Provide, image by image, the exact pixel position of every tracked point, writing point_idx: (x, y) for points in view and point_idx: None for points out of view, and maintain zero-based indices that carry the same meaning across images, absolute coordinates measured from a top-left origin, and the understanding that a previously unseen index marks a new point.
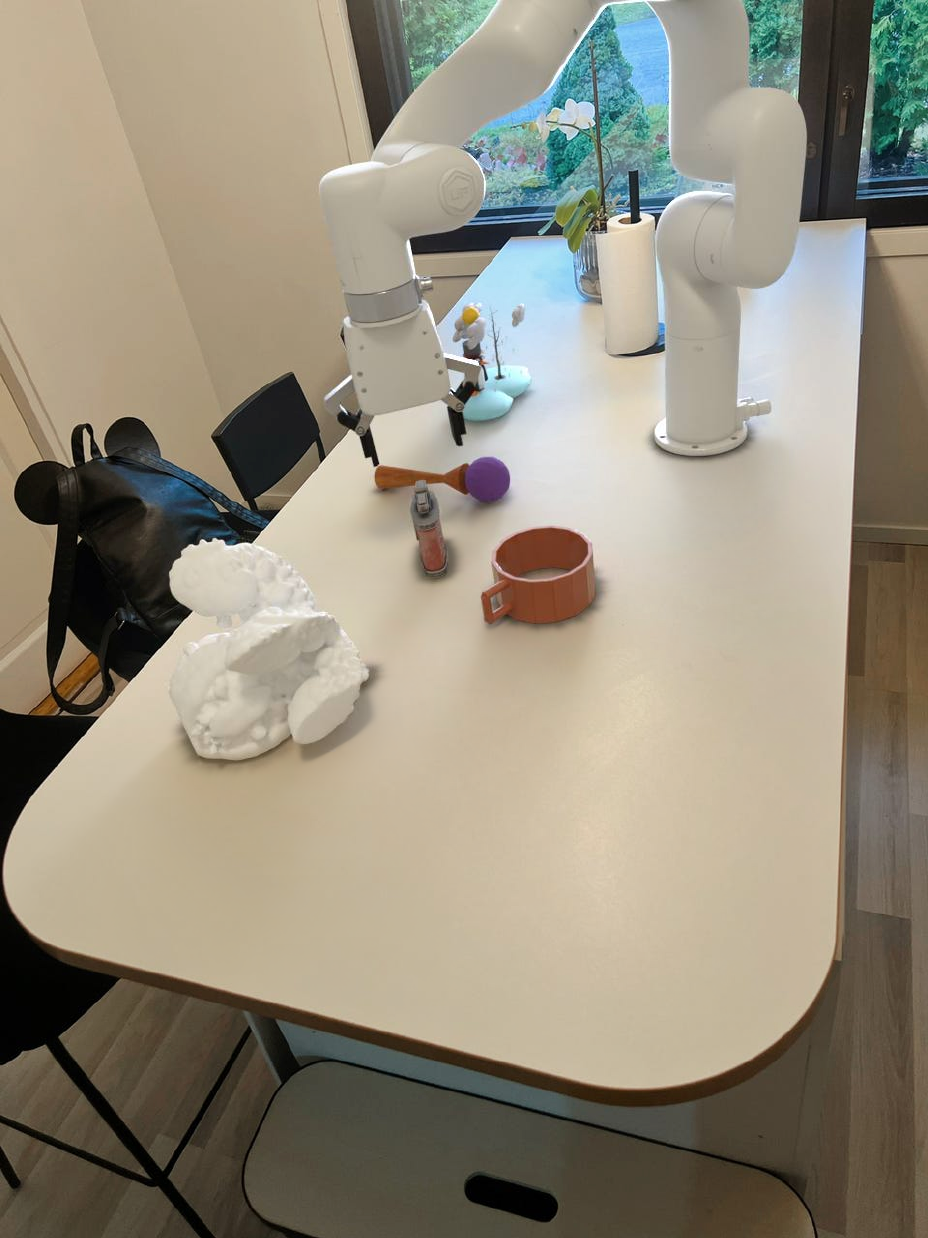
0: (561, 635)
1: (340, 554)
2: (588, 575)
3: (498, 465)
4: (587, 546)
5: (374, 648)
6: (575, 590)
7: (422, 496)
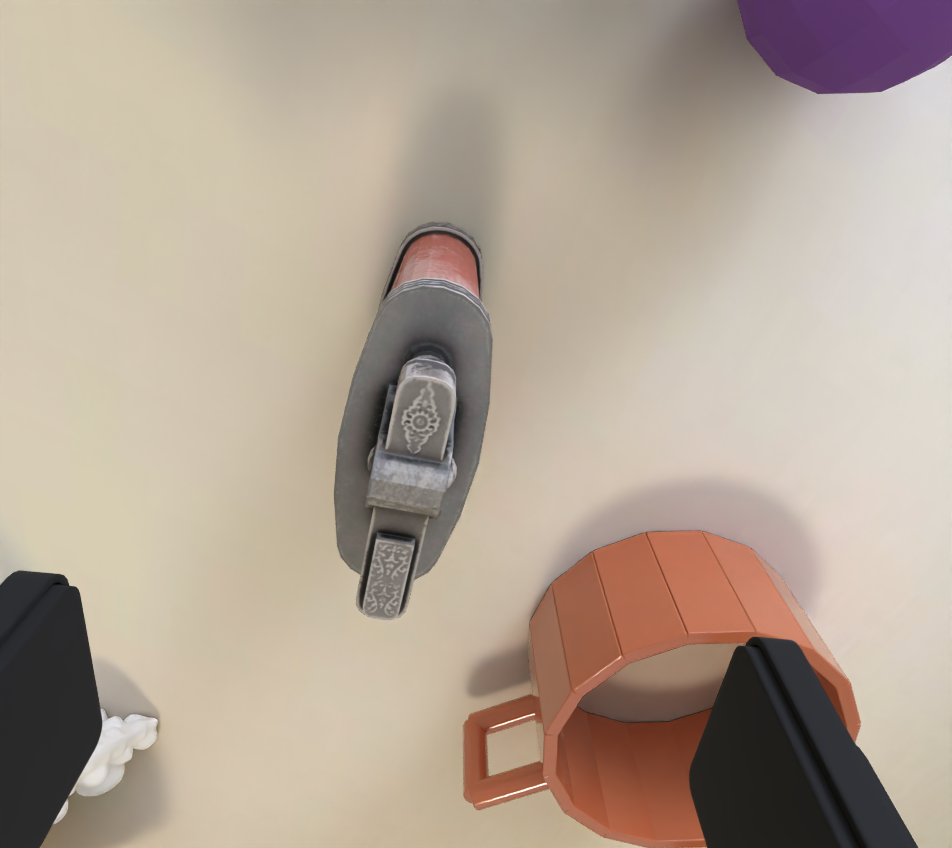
0: None
1: (39, 88)
2: None
3: None
4: None
5: (175, 651)
6: None
7: (394, 570)
